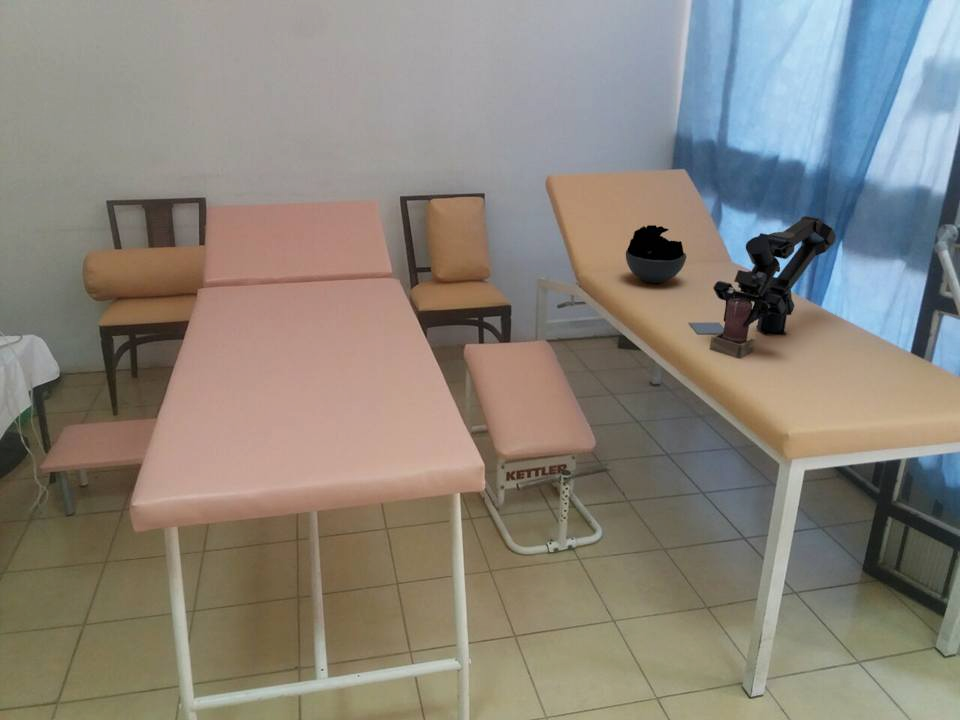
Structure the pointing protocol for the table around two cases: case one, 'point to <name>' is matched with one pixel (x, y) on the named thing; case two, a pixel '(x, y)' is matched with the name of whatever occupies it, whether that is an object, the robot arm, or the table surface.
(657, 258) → the coal bowl
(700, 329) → the mat
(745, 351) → the bracket
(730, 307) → the can
